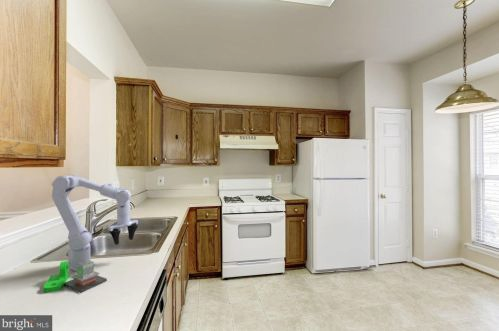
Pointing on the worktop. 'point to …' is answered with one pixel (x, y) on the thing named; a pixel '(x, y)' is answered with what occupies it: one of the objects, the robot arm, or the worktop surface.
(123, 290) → the worktop surface
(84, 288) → the dark grey rectangular tray
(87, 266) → the green-striped metal cube
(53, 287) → the mechanical part
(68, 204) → the robot arm
